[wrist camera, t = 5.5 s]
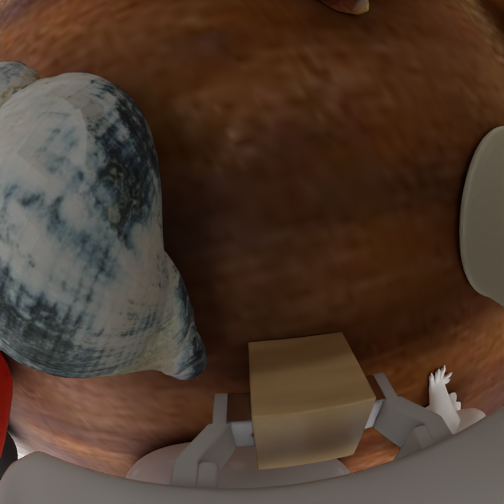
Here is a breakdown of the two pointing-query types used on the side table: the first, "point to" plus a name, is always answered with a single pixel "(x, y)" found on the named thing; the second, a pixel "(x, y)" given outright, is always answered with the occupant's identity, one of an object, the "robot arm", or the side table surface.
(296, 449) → the block
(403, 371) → the side table surface
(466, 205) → the can
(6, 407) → the apple
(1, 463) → the mug
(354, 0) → the figurine
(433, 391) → the rabbit figurine
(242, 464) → the teapot
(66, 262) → the seashell
